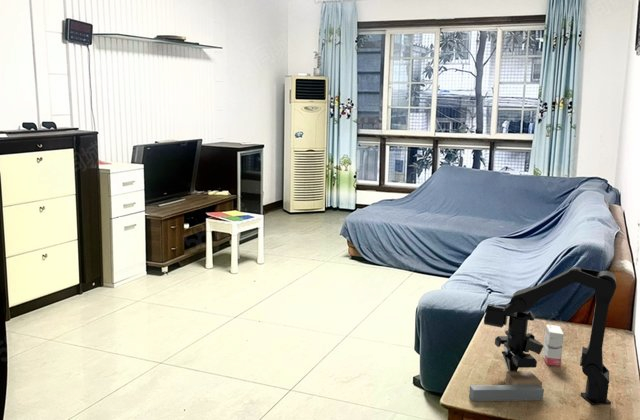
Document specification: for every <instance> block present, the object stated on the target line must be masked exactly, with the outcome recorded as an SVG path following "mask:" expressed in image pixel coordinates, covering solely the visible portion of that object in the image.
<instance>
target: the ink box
mask: <svg viewBox="0 0 640 420" xmlns="http://www.w3.org/2000/svg"><path fill="white" fill-rule="evenodd" d="M564 336H565V334H564V332H563V330H562V327H560V325H553V324H546V325H545V333H544V338H543V339H544V342H543V348H542V357H543V359H544V361H545V364H546V365H547V366H556V367H561V363H562V354H563V347H564V346H563V344H564Z"/></svg>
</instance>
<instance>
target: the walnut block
mask: <svg viewBox="0 0 640 420" xmlns="http://www.w3.org/2000/svg"><path fill="white" fill-rule="evenodd" d="M504 385H540V386H541V387H542V388H543V381H541V380H540V379H539V377H537V376H536V375H535V374H534V373H533V372H532V371H531V370H524V371H523V370H517V371H506V373H505V381H504Z"/></svg>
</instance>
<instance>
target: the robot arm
mask: <svg viewBox="0 0 640 420" xmlns="http://www.w3.org/2000/svg"><path fill="white" fill-rule="evenodd" d="M616 278H617V277H616V275H615V274H614V273H613V272H611V271H609V270H602V271H599V270H596V269H588V268H584V267H583V268H582V267H579V266H572V267H569V269H567V270H565V271H563V272H561V273H559V274H557V275H555V276H554V277H552V278H549V279H548V280H545V281H544V282H541V283H539V284H537V285H534V286H531V287H526V288H522V289H518V290H517V291H515V292H514V293H513V295H512V297H511V299H510V301H509V302H508V303H506V305H505V306H501V305H495V304H493V303H487V305H486V311H485V315H484V318H483V324H484V325H487V326H489V327H490V326H491V327H494V328H495V327H496V328H501V329H502V328H503V327H504V326H507V324H508V327H507V330H505V331H504V334H505V335H497V336H496V337H495V339H494V345H495V346H496V347H497V348H500V347H501V345H503V349H504V350H503V351H501V354H502V356H503V360H504V361H505V365H506V367H507V370H508V371H519V368H521V369H523V368H524V369H525V368H526V369H527V368H528V369H529V368H530V369H531V368H537V366H538V365H537V364H538V361H537V359H536V358H534V356H532V354H531V353H529V352H533V353H536V354H537V355H540V354H541V352H543V347H544V344H543V343H541V342H540V341H539V340H537V339H536V338H535V335H533V333H529V332H528V324H529V321H532V322H534V321H535V318H536V315H535V314H533V312H532V310H529V309H531V308H532V307H533V306H534V305H536V304H538V302H539V301H541V299H544V298H546V297H549V295H552V294H554V293H557V292H558V291H561V290H562V289H564V288H566V287H569V286H570V285H572V284H574V283H578V284H580V285H583V286H585V287H587V288H590V289H594V295H595V306H594V311H593V318H592V325H591V330H590V337H589V343H588V346H587V347H585V346H582V348H581V356H580V360H579V366H580V367H581V371H582V373H583V374H584V375H585V376H586V378H587V379H586V384H585V392H580V395H581V396H582V397H583V398H584V400H586V401H587V402H588V403H589V404H591V405H611V404H612V401H610V400H609V399H608V393H609V385H610V371H609V370H608V368H607V367H606V366H605V364H604V360H603V359H604V358H603V355H604V354H603V346H604V338H605V332H606V325H607V319H608V312H609V307H610V304H611V301H612V300H613V296H614V294H615V293H616V292H615V291H616V289H617V279H616ZM528 310H529V311H528ZM527 311H528V312H527Z"/></svg>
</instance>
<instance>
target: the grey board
mask: <svg viewBox="0 0 640 420" xmlns="http://www.w3.org/2000/svg"><path fill="white" fill-rule="evenodd" d="M468 392H469V395H468V397H469V398H470V400H471V402H500V401H501V402H502V401H503V402H504V401H506V402H508V401H512V402H513V401H516V402H517V401H543V400H544V392H545V390H544V388H543V386H542V387H541V386H540V385H506V384H501V385H500V384H497V385H496V384H489V385H488V384H485V385H484V384H483V385H482V384H481V385H477V384H476V385H469V391H468Z"/></svg>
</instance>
